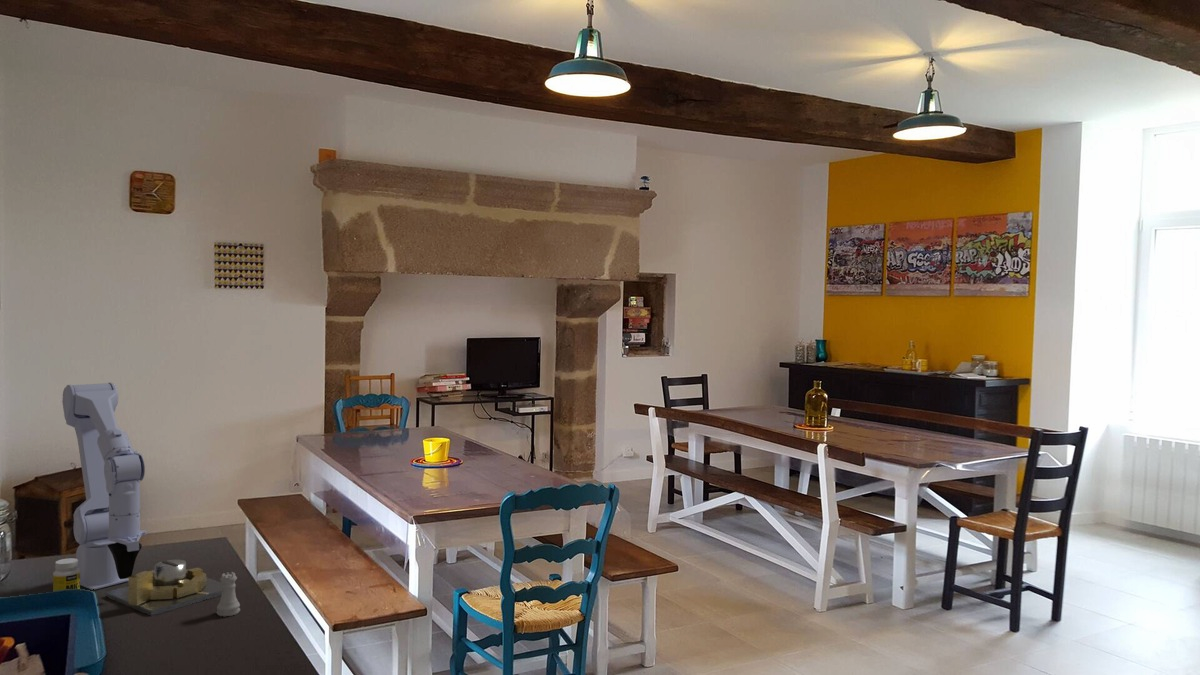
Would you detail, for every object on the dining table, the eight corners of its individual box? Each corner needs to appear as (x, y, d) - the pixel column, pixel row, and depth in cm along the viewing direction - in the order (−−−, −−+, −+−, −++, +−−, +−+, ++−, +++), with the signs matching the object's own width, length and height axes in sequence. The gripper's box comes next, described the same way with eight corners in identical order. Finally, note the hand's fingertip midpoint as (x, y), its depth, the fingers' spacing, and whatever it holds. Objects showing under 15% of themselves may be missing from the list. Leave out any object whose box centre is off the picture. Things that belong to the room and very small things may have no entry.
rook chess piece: (245, 611, 176) (245, 572, 176) (227, 618, 172) (227, 578, 172) (229, 607, 178) (229, 569, 177) (211, 615, 174) (211, 575, 173)
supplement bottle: (67, 606, 177) (66, 565, 177) (47, 604, 178) (46, 563, 177) (85, 598, 182) (85, 558, 181) (66, 596, 183) (65, 556, 182)
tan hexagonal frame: (105, 594, 180) (105, 568, 180) (183, 574, 194) (183, 549, 194) (139, 608, 173) (139, 581, 173) (217, 586, 187) (217, 560, 186)
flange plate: (105, 596, 183) (105, 565, 182) (187, 575, 198) (187, 546, 197) (151, 615, 173) (151, 582, 172) (234, 591, 187) (234, 561, 187)
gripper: (155, 517, 178) (155, 582, 178) (137, 503, 189) (137, 565, 189) (116, 522, 173) (116, 589, 174) (100, 508, 184) (100, 571, 185)
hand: (124, 577), depth 181 cm, fingers closed
